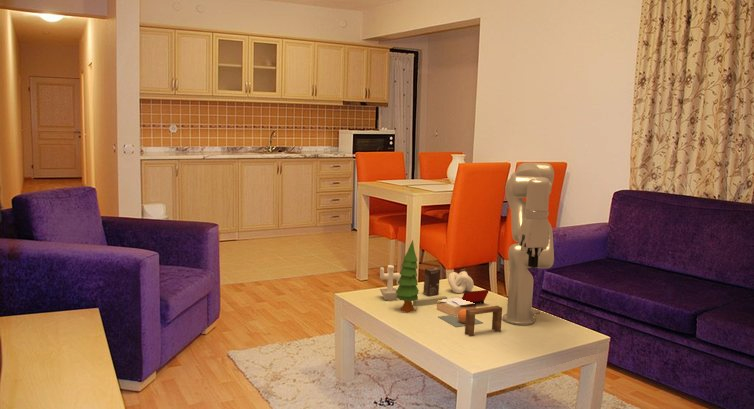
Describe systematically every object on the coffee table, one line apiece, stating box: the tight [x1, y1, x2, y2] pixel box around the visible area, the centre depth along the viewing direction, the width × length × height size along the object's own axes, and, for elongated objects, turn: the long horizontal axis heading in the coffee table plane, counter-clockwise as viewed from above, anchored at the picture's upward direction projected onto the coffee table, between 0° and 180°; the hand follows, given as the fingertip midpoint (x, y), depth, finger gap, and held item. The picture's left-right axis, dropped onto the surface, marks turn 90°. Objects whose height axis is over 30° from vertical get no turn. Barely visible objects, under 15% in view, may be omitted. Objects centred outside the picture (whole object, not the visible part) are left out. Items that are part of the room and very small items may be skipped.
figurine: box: [379, 264, 401, 301], centre depth 267 cm, size 7×9×15 cm
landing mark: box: [437, 314, 484, 328], centre depth 242 cm, size 13×13×1 cm
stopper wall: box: [412, 295, 448, 308], centre depth 262 cm, size 16×2×2 cm, turn 117°
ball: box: [457, 308, 468, 323], centre depth 238 cm, size 6×6×6 cm
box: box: [422, 267, 441, 297], centre depth 275 cm, size 6×4×12 cm
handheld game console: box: [461, 289, 489, 305], centre depth 264 cm, size 12×11×7 cm
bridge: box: [464, 305, 503, 337], centre depth 228 cm, size 3×14×9 cm, turn 117°
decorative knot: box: [447, 270, 475, 294], centre depth 282 cm, size 11×12×9 cm
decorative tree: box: [396, 239, 419, 313], centre depth 250 cm, size 10×9×30 cm
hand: (532, 266), depth 211 cm, fingers closed
